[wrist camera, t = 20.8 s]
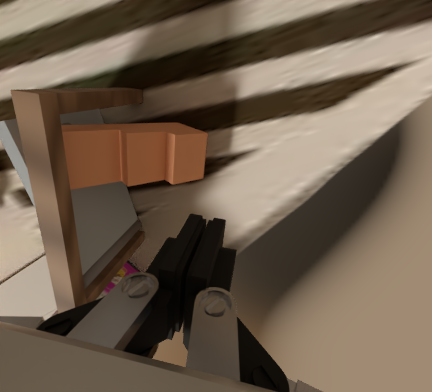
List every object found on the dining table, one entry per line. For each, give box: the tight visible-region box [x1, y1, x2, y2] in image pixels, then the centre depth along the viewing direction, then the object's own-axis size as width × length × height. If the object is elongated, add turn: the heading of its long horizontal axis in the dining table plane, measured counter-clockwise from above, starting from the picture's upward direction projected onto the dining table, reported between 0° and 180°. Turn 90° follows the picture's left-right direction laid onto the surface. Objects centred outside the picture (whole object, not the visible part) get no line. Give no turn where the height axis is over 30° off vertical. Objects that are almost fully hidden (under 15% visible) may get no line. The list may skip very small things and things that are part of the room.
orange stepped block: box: [61, 123, 208, 190], centre depth 25 cm, size 5×13×6 cm
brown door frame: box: [11, 87, 144, 314], centre depth 27 cm, size 20×2×14 cm, turn 174°
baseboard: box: [0, 255, 57, 320], centre depth 48 cm, size 31×3×12 cm
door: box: [0, 109, 141, 289], centre depth 28 cm, size 17×3×12 cm, turn 12°
